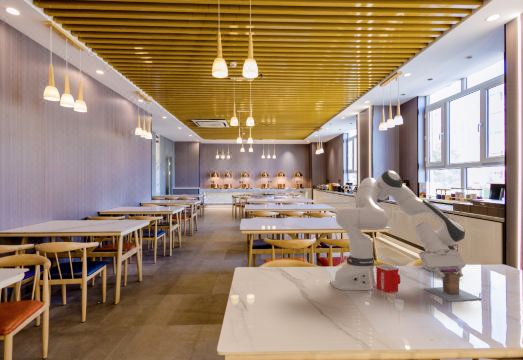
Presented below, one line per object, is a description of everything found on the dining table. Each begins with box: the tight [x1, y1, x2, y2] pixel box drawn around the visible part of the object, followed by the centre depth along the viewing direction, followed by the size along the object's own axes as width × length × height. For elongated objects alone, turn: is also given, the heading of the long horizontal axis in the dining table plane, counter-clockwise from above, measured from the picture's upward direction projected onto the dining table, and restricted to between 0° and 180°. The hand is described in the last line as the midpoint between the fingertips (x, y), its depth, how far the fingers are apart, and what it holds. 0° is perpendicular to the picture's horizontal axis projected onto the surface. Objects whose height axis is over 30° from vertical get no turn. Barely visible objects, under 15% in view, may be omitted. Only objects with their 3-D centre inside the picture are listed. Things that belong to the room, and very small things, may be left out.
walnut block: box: [442, 272, 460, 295], centre depth 143 cm, size 4×5×9 cm
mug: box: [375, 264, 401, 294], centre depth 148 cm, size 12×8×11 cm
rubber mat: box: [423, 286, 482, 303], centre depth 143 cm, size 16×16×1 cm
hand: (452, 277), depth 142 cm, fingers open, 8 cm apart
